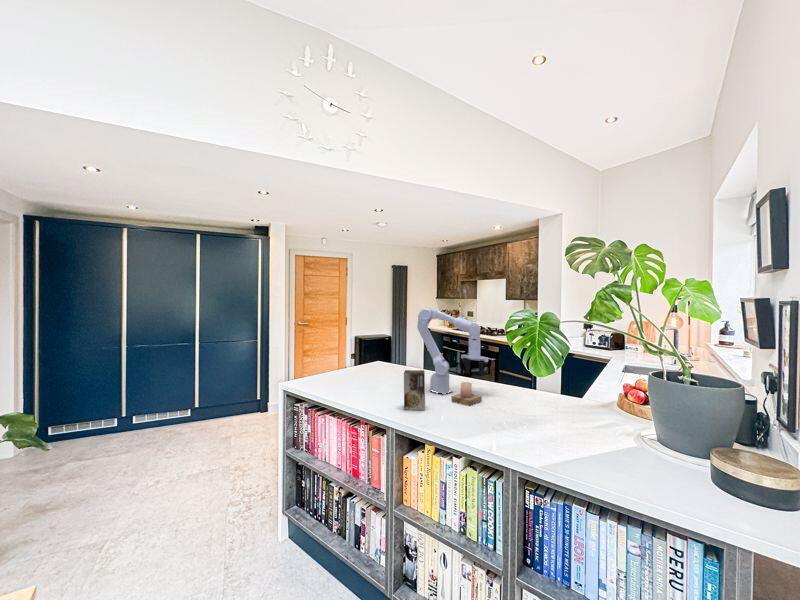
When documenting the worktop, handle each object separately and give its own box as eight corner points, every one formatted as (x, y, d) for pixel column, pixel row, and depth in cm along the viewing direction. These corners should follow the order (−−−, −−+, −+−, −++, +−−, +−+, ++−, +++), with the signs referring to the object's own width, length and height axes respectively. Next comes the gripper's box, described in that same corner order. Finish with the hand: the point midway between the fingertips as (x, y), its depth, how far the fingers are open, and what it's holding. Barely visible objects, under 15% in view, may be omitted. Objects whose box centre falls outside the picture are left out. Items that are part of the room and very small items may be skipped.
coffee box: (425, 406, 158) (425, 370, 157) (424, 410, 151) (424, 373, 151) (404, 405, 158) (404, 369, 158) (403, 410, 152) (403, 372, 152)
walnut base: (451, 401, 164) (451, 396, 164) (463, 397, 171) (463, 392, 171) (469, 406, 157) (469, 400, 157) (481, 401, 164) (481, 396, 164)
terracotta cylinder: (458, 396, 164) (458, 383, 164) (465, 394, 168) (465, 381, 168) (467, 398, 161) (467, 385, 160) (473, 396, 164) (473, 383, 164)
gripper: (457, 346, 178) (457, 373, 179) (483, 349, 168) (483, 378, 168) (465, 345, 184) (465, 371, 184) (490, 348, 173) (490, 375, 173)
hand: (474, 374), depth 176 cm, fingers open, 7 cm apart
